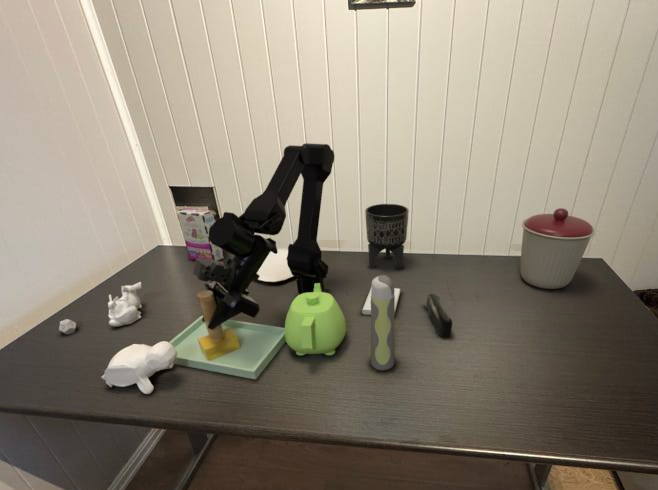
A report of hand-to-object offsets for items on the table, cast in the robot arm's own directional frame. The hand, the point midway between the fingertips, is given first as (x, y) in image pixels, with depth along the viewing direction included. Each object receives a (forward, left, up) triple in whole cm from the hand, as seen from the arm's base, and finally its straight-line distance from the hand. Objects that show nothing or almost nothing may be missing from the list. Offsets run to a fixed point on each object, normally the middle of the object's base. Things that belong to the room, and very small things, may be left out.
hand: (206, 325), depth 78 cm
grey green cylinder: (-36, -6, -8) cm, 38 cm away
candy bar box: (+35, -45, -8) cm, 57 cm away
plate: (+8, -44, -8) cm, 45 cm away
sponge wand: (-1, -1, -7) cm, 7 cm away
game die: (+40, +1, -8) cm, 41 cm away
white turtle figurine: (+8, +11, -8) cm, 15 cm away
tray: (-1, -3, -8) cm, 8 cm away
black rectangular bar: (-45, -25, -8) cm, 52 cm away
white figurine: (+29, -8, -8) cm, 31 cm away
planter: (-26, -55, -8) cm, 61 cm away
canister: (-73, -54, -8) cm, 91 cm away
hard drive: (-30, -30, -8) cm, 43 cm away
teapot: (-20, -9, -8) cm, 24 cm away
